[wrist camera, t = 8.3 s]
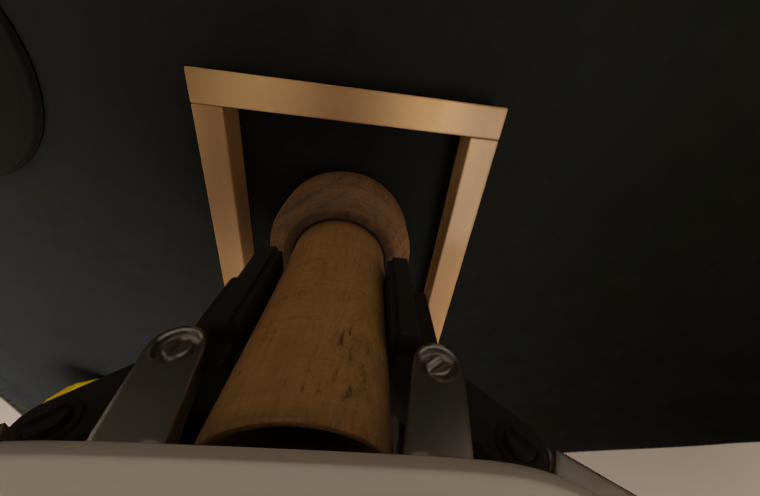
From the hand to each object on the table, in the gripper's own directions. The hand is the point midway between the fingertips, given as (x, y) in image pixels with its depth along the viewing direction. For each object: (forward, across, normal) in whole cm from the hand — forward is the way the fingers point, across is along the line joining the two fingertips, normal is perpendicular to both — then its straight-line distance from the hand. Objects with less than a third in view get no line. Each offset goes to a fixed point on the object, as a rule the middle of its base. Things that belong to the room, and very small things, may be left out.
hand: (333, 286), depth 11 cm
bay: (+5, 0, 0) cm, 5 cm away
